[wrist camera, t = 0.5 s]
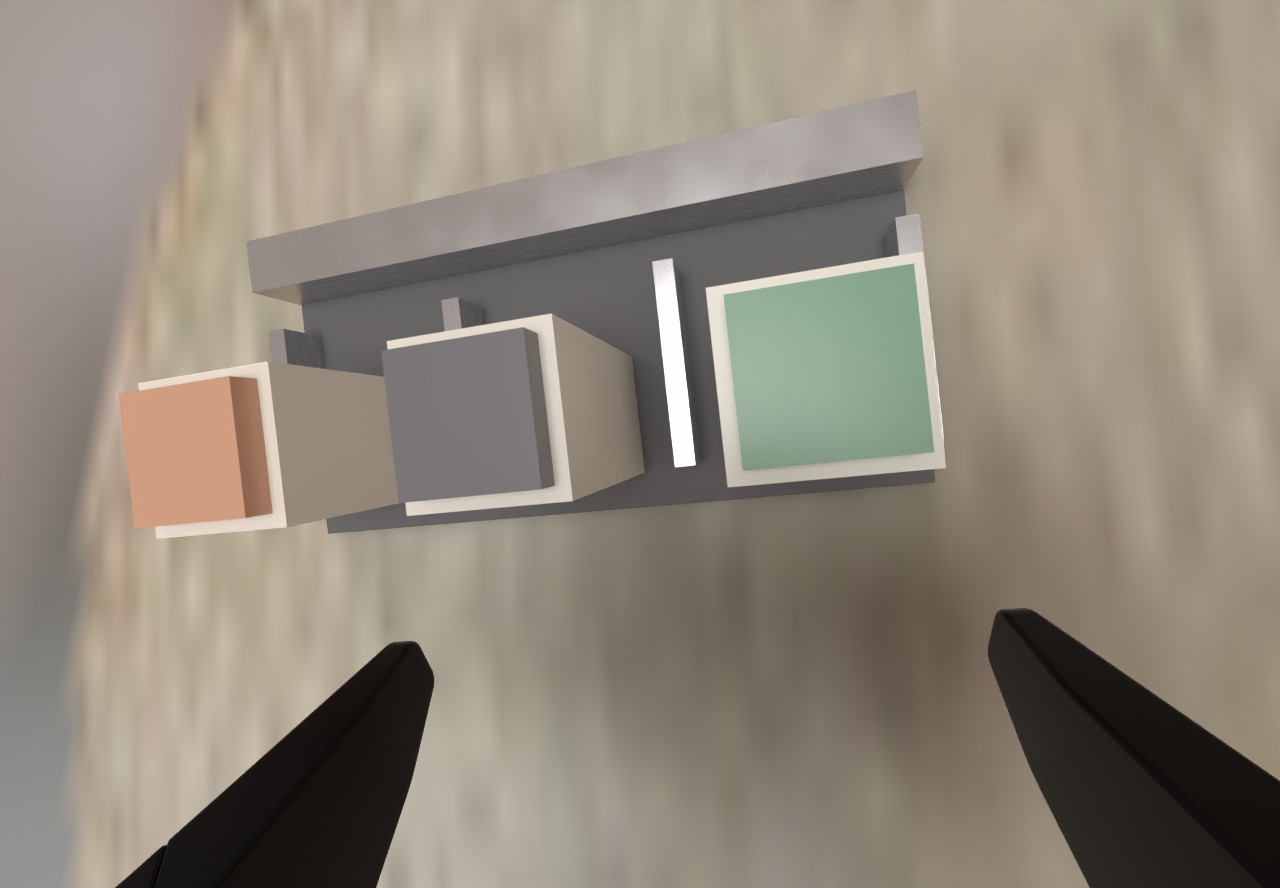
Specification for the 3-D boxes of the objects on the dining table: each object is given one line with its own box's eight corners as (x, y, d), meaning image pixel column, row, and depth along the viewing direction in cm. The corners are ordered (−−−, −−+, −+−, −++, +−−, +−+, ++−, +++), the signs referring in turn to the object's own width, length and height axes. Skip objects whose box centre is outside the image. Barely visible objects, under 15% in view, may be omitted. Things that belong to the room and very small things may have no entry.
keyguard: (930, 438, 19) (953, 439, 17) (324, 499, 24) (277, 507, 22) (897, 131, 19) (916, 89, 17) (296, 259, 24) (246, 241, 22)
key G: (870, 450, 19) (960, 471, 11) (741, 463, 20) (725, 491, 11) (856, 324, 19) (934, 238, 10) (728, 342, 20) (701, 278, 11)
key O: (454, 491, 23) (260, 532, 14) (361, 500, 24) (125, 544, 15) (441, 384, 23) (240, 357, 14) (349, 397, 24) (105, 380, 15)
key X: (645, 472, 21) (560, 505, 12) (536, 483, 22) (385, 520, 13) (632, 356, 21) (538, 305, 12) (523, 371, 22) (364, 336, 13)
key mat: (928, 479, 20) (935, 482, 19) (341, 530, 25) (328, 533, 24) (891, 143, 20) (897, 131, 19) (310, 264, 25) (296, 259, 24)
